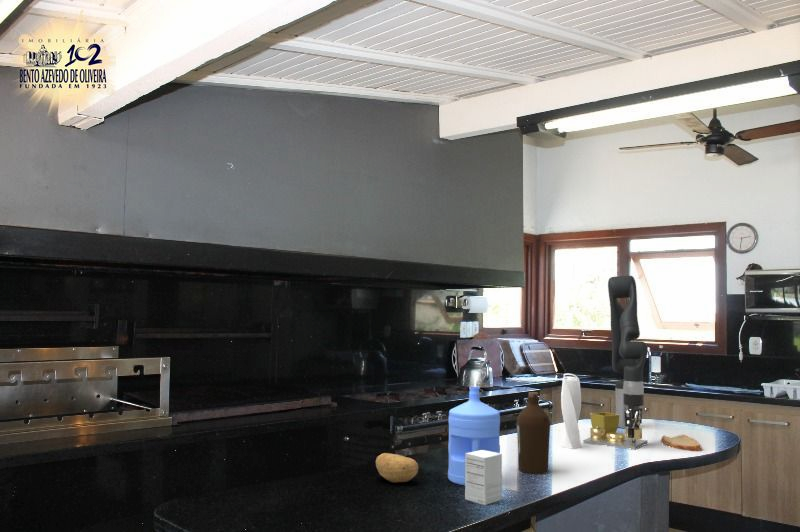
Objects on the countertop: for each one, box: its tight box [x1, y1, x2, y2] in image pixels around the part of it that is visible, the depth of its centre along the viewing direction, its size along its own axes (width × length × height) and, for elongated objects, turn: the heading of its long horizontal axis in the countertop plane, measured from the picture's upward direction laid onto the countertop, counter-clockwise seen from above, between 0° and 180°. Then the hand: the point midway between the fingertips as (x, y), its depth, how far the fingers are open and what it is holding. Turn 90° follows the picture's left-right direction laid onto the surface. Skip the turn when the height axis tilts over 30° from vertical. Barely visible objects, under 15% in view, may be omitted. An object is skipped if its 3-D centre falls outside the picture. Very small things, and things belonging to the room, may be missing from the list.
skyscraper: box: [560, 372, 582, 450], centre depth 267 cm, size 8×8×28 cm
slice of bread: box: [660, 433, 703, 452], centre depth 273 cm, size 18×18×4 cm
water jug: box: [447, 386, 501, 487], centre depth 213 cm, size 16×16×28 cm
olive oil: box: [516, 391, 551, 475], centre depth 227 cm, size 11×11×25 cm
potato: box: [375, 452, 419, 483], centre depth 209 cm, size 10×14×8 cm
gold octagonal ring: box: [625, 427, 643, 440], centre depth 271 cm, size 6×6×4 cm
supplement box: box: [464, 450, 503, 506], centre depth 191 cm, size 7×7×13 cm
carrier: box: [583, 427, 648, 450], centre depth 275 cm, size 16×20×6 cm
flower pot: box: [589, 411, 619, 435], centre depth 292 cm, size 9×9×9 cm
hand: (633, 436), depth 271 cm, fingers closed on gold octagonal ring, 5 cm apart
